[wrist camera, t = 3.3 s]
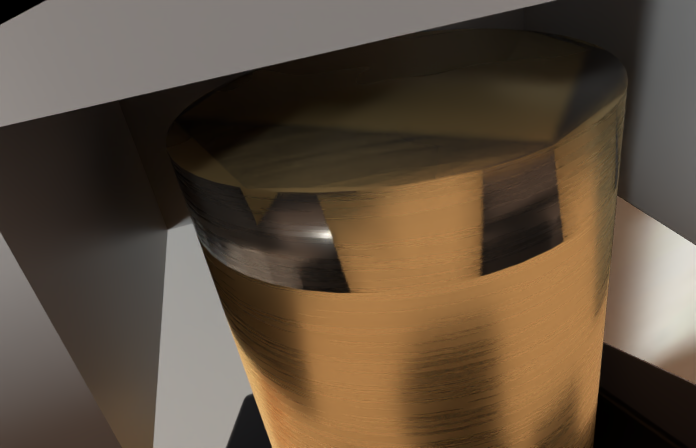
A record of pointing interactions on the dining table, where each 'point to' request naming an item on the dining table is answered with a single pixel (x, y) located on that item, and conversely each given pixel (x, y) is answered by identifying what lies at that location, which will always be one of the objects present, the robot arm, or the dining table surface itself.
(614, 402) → the robot arm
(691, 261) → the dining table surface
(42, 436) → the socket
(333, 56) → the tube
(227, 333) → the board
